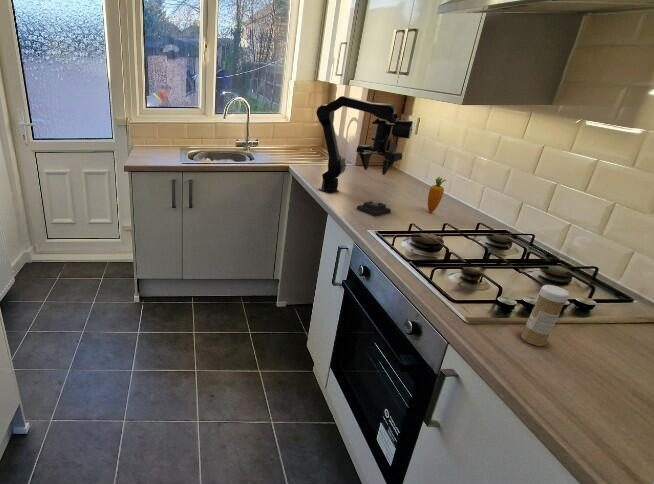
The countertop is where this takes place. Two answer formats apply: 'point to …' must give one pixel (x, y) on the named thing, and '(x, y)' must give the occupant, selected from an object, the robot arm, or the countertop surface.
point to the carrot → (435, 195)
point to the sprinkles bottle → (544, 314)
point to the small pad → (373, 207)
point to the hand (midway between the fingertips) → (374, 172)
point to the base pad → (373, 212)
